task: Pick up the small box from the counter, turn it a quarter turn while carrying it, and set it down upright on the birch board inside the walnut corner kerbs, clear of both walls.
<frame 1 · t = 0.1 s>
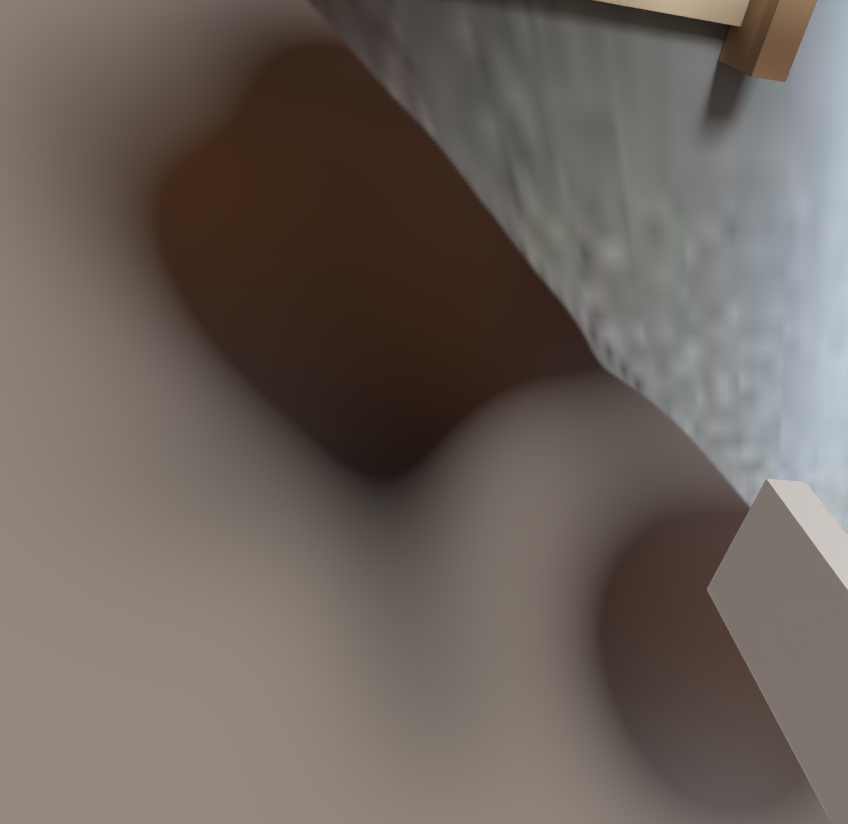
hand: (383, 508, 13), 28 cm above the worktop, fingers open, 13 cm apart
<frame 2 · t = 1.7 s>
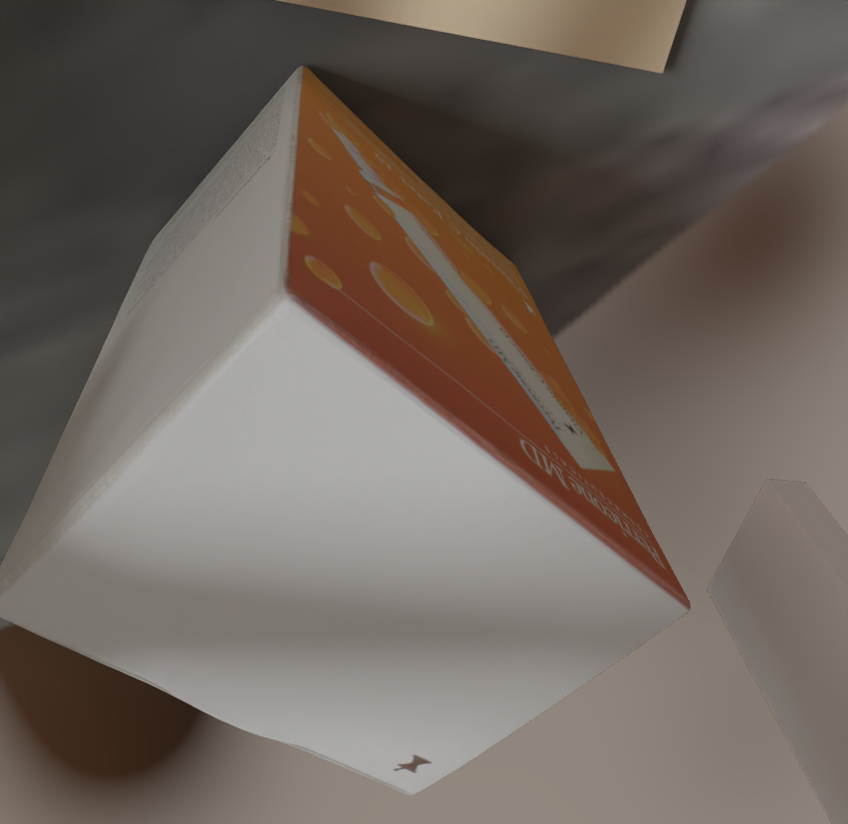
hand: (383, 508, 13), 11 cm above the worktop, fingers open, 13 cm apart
small box: (340, 248, 22), on the worktop
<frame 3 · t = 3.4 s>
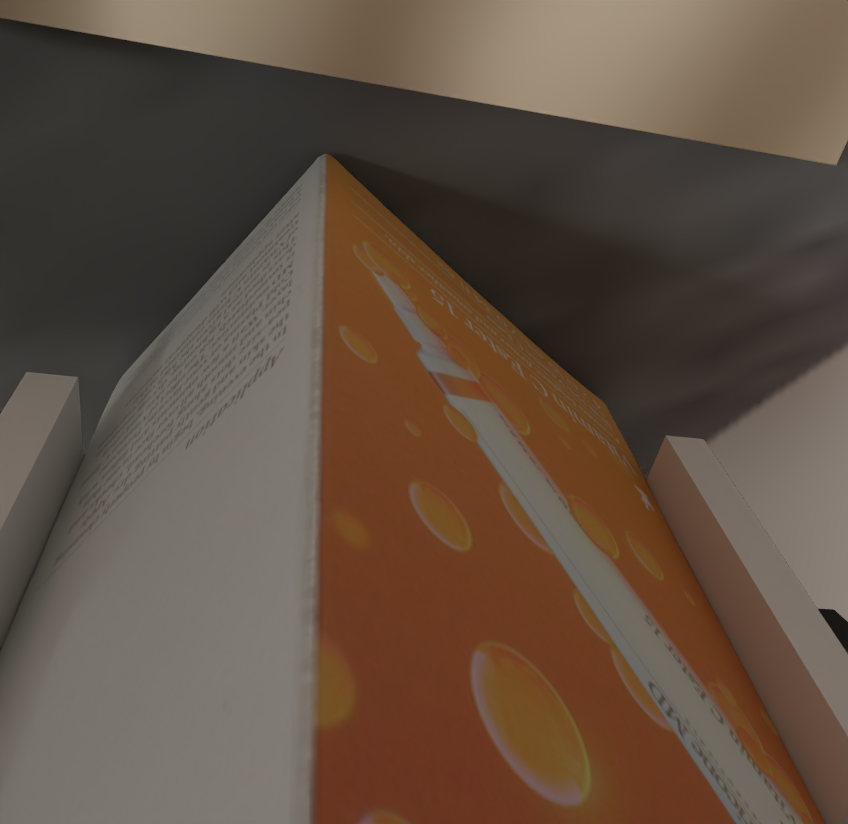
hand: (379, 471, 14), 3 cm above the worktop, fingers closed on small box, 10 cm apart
small box: (372, 382, 16), on the worktop, touching gripper
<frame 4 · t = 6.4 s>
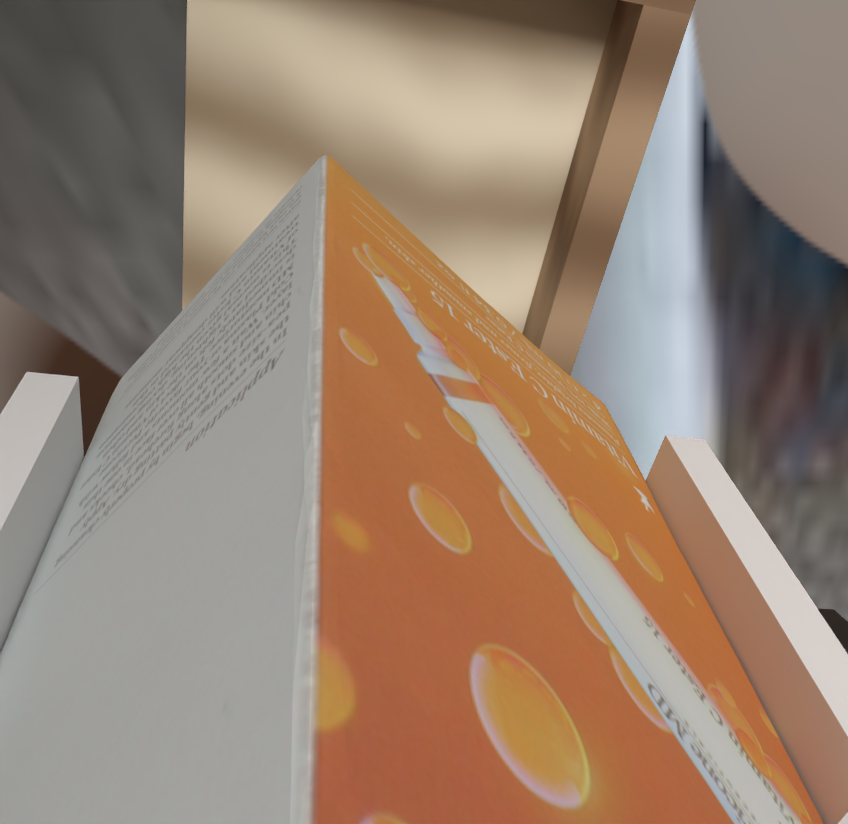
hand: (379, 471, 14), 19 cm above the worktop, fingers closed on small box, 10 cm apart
small box: (372, 383, 16), point 16 cm above the worktop, touching gripper
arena: (380, 161, 29), on the worktop
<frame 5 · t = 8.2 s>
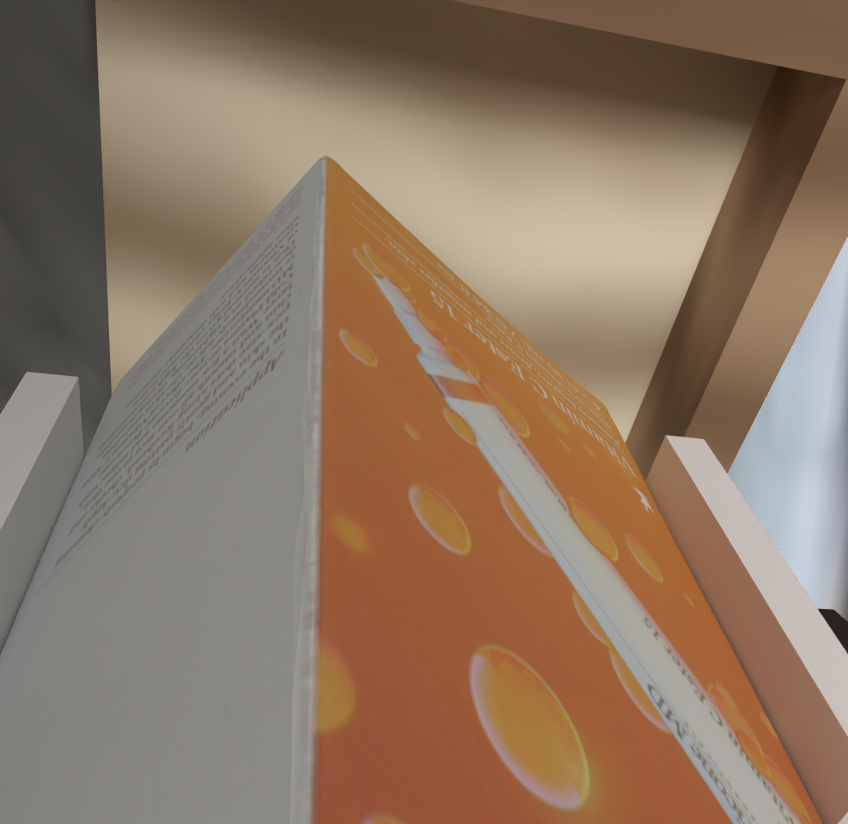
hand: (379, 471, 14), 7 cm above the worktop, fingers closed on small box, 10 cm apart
small box: (372, 384, 16), point 5 cm above the worktop, touching gripper
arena: (402, 289, 20), on the worktop
when the fingers open (5 cm above the worktop, at t = 9.7 s): small box drops 1 cm, resting on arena.
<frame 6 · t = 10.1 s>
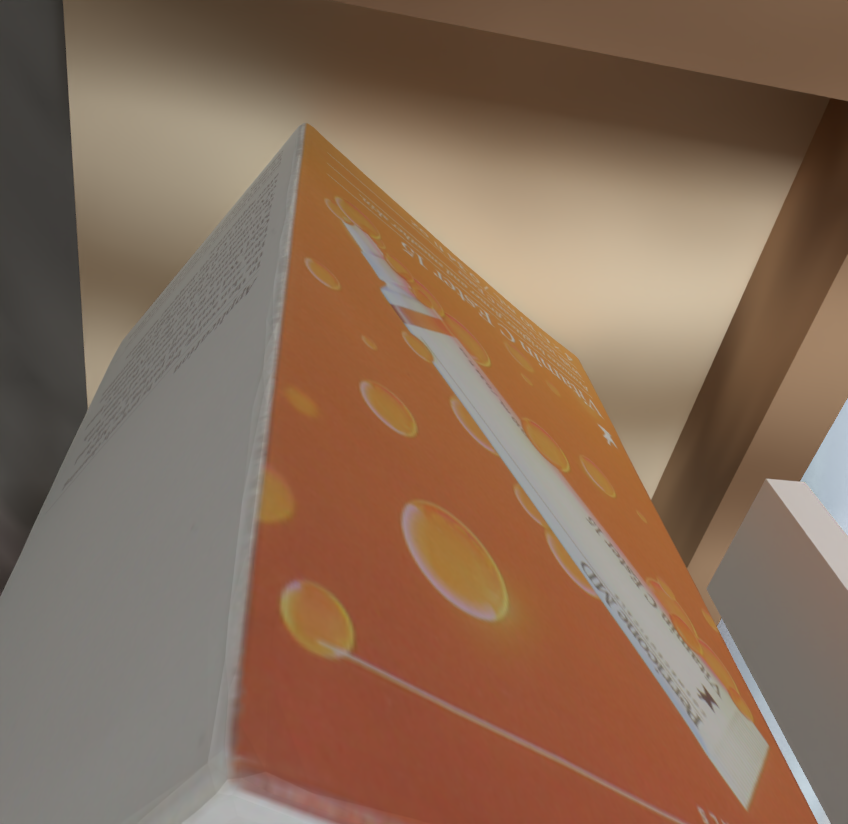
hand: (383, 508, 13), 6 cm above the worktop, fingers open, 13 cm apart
small box: (358, 342, 17), point 1 cm above the worktop, touching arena
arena: (410, 335, 18), on the worktop
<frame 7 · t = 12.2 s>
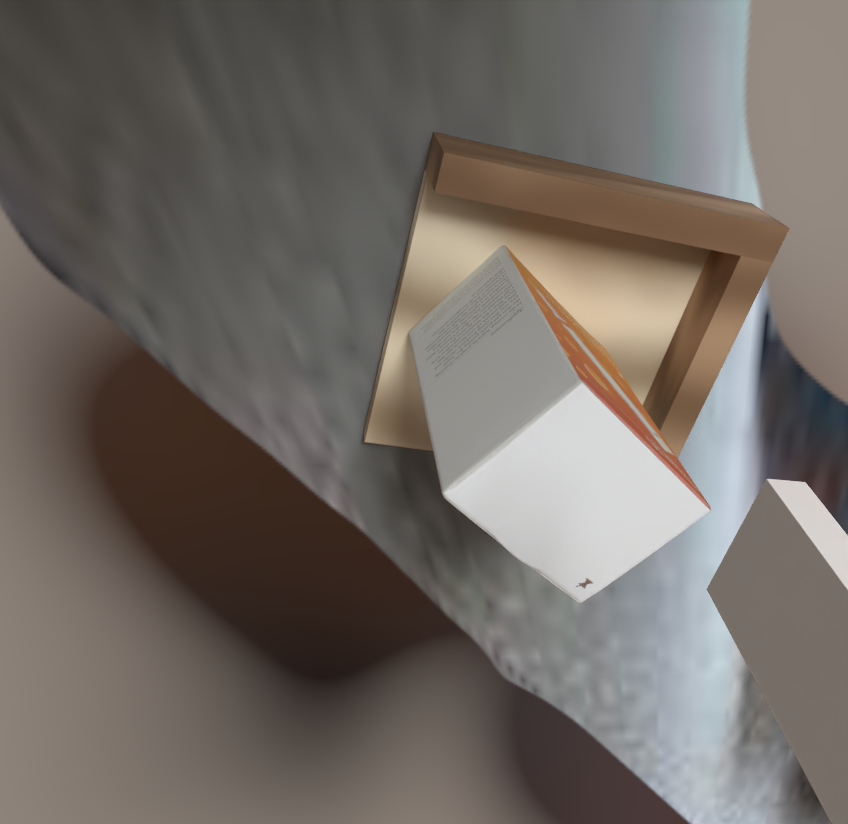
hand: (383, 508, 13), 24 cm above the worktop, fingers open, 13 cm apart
small box: (507, 336, 38), point 1 cm above the worktop, touching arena
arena: (527, 335, 39), on the worktop
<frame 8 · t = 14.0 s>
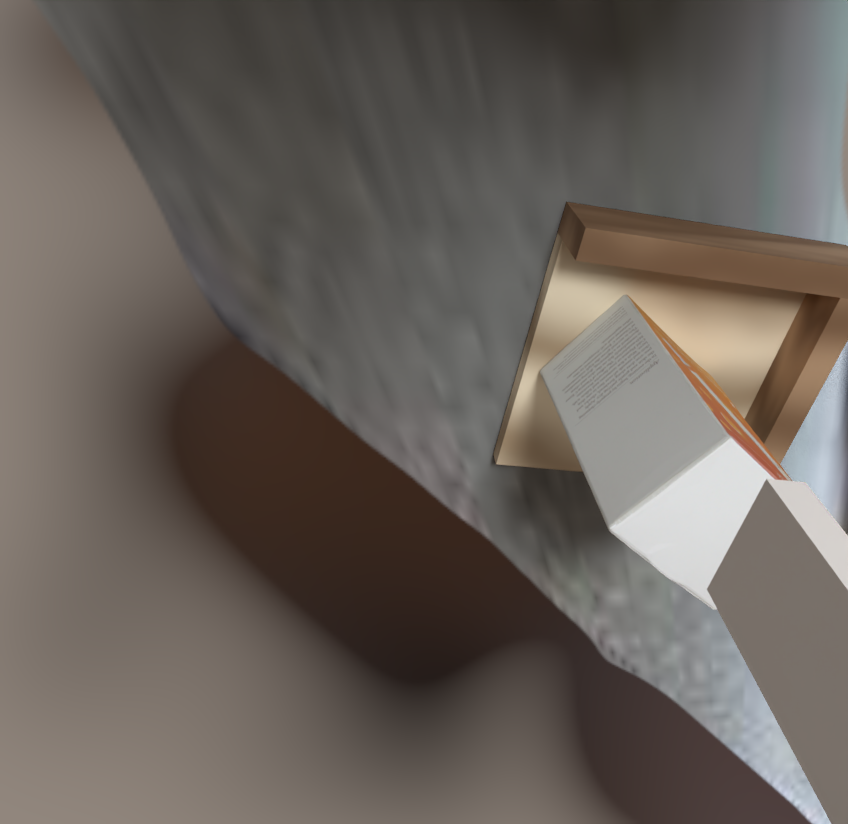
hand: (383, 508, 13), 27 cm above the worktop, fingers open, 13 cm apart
small box: (624, 369, 43), point 1 cm above the worktop, touching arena
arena: (640, 366, 44), on the worktop
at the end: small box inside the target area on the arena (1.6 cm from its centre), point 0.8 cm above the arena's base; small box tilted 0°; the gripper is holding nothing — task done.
